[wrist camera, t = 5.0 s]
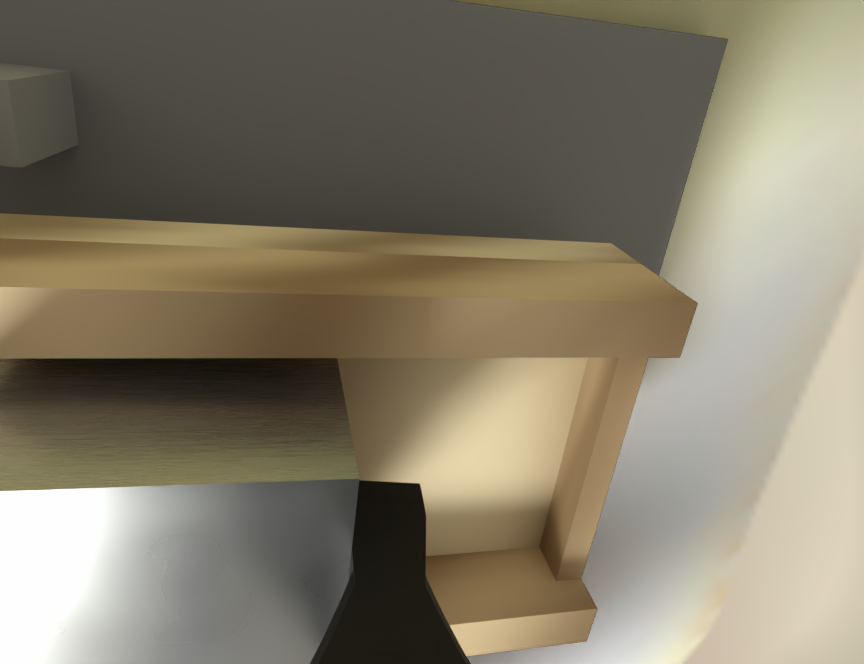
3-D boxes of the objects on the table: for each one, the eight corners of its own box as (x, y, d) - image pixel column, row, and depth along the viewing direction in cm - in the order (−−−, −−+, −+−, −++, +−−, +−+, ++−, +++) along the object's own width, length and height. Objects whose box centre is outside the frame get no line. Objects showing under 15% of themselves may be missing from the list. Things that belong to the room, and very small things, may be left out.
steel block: (331, 329, 11) (359, 478, 7) (316, 546, 13) (331, 740, 10) (4, 321, 10) (-148, 497, 6) (44, 563, 12) (-52, 794, 8)
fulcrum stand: (705, 37, 14) (795, 41, 11) (556, 571, 21) (586, 662, 18) (-884, -182, 10) (-1386, -264, 7) (-428, 544, 17) (-594, 652, 14)
